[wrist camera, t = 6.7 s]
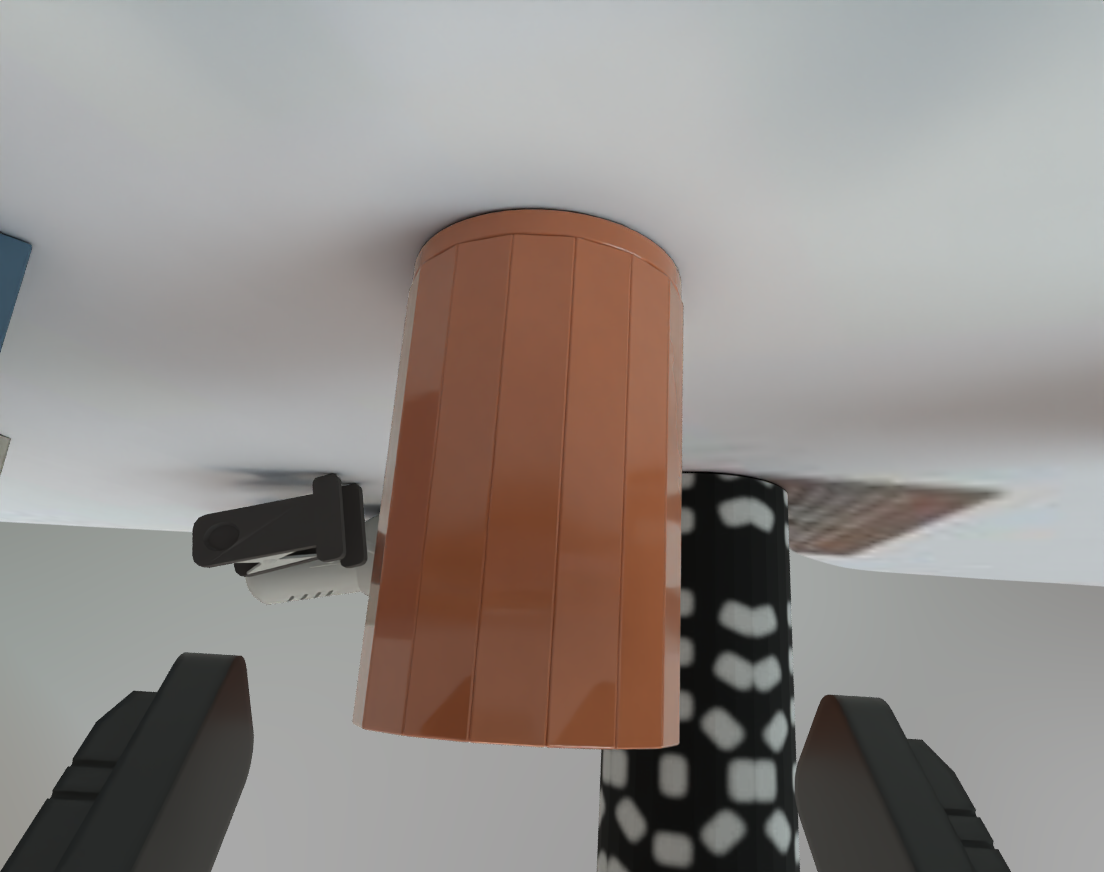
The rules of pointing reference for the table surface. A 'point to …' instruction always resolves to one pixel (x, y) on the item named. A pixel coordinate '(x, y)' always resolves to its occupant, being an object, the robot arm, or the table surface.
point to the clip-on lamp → (294, 543)
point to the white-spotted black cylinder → (718, 703)
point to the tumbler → (532, 493)
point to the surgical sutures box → (3, 450)
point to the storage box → (10, 277)
